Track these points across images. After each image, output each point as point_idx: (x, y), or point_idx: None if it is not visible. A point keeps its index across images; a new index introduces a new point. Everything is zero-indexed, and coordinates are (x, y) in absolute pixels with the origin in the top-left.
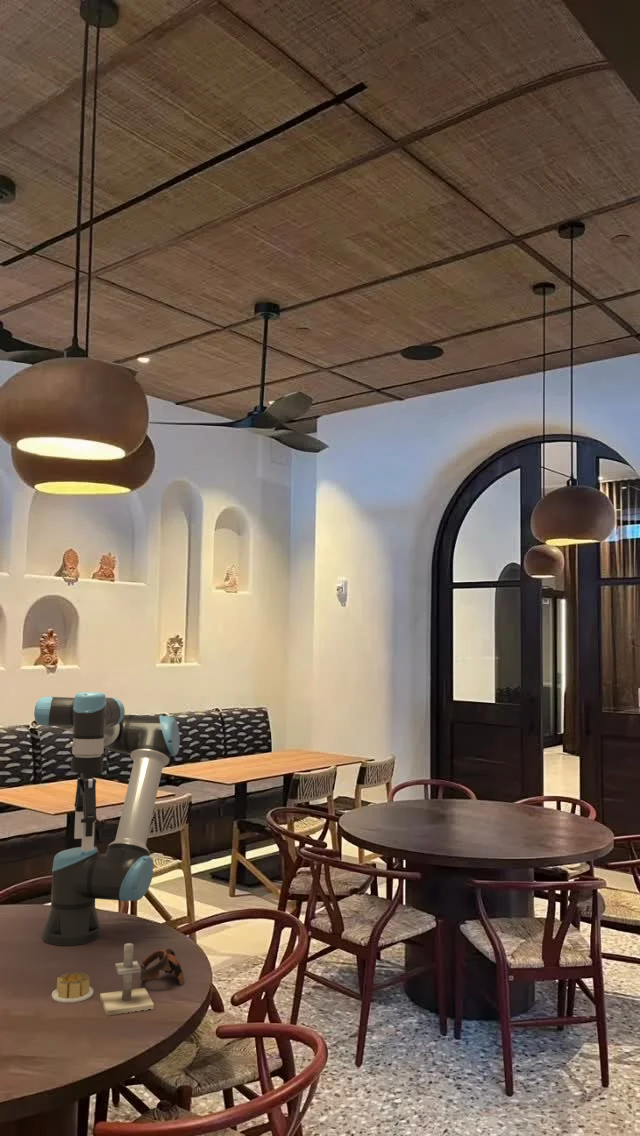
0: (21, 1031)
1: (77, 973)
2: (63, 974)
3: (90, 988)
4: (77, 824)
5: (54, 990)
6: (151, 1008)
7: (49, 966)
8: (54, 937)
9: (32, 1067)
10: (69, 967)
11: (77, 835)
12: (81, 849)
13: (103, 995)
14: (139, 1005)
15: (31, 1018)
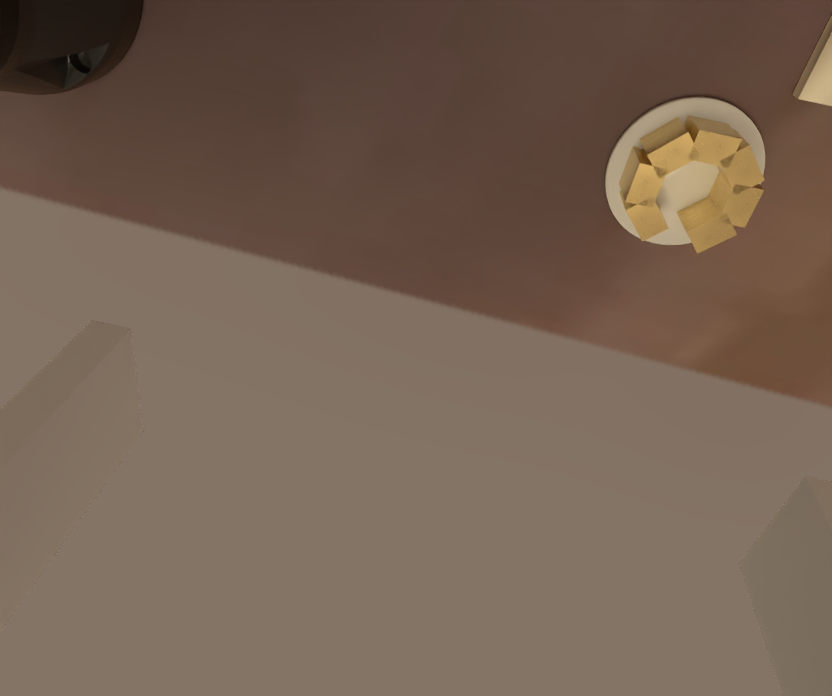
0: (828, 378)
1: (657, 164)
2: (628, 212)
3: (698, 105)
4: (37, 550)
5: (623, 224)
6: None
7: (354, 153)
8: (102, 69)
9: None
10: (400, 89)
11: (120, 433)
12: (748, 571)
13: (828, 94)
14: None
15: (764, 334)
